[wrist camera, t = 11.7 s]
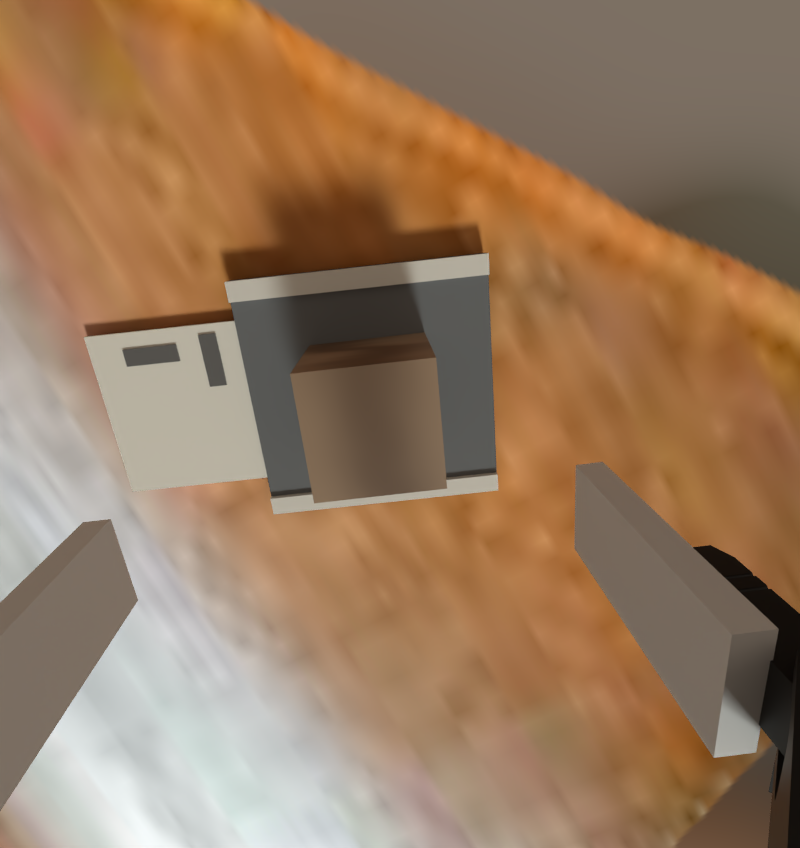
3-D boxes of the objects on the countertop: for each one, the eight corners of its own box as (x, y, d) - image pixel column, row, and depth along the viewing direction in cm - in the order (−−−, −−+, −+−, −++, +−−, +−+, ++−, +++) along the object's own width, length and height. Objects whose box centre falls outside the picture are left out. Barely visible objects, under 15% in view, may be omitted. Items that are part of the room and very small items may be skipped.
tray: (277, 504, 30) (273, 514, 29) (230, 280, 26) (224, 281, 25) (494, 481, 30) (498, 490, 29) (484, 252, 26) (488, 253, 25)
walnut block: (327, 451, 29) (314, 503, 23) (309, 345, 26) (289, 373, 21) (434, 439, 28) (447, 488, 23) (424, 332, 26) (436, 357, 21)
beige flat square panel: (134, 489, 30) (131, 492, 29) (87, 336, 27) (82, 337, 26) (288, 473, 30) (286, 475, 29) (257, 317, 27) (256, 318, 26)
